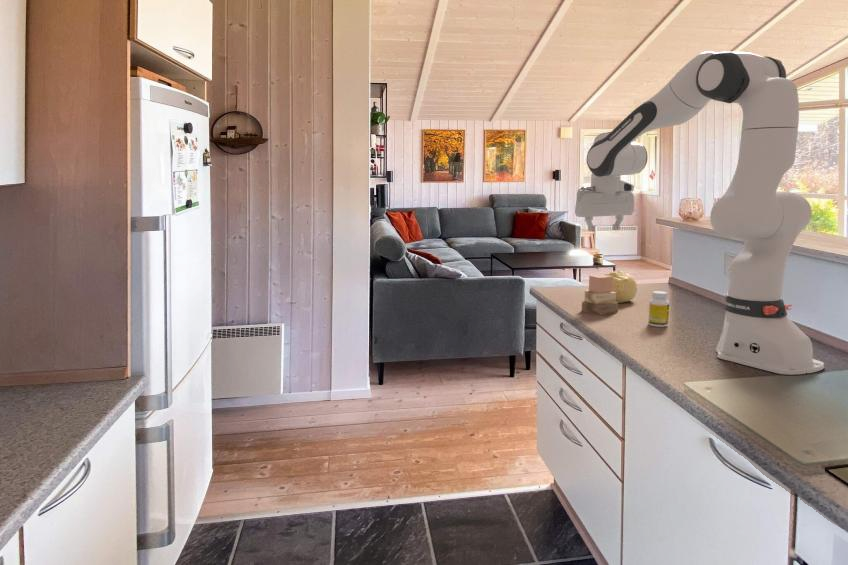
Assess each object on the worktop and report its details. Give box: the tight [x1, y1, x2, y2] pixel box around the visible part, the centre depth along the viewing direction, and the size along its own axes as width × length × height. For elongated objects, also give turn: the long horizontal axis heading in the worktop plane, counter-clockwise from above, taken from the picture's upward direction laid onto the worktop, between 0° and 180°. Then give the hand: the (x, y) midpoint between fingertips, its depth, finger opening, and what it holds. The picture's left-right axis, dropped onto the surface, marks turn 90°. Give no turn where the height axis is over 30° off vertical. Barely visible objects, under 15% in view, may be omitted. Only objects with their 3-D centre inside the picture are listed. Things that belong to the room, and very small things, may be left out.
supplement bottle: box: [647, 290, 670, 328], centre depth 166 cm, size 5×5×10 cm
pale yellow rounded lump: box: [603, 270, 638, 304], centre depth 200 cm, size 12×12×11 cm
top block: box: [583, 289, 616, 305], centre depth 185 cm, size 7×7×4 cm
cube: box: [588, 274, 612, 293], centre depth 184 cm, size 5×5×5 cm
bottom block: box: [581, 300, 619, 316], centre depth 185 cm, size 8×8×4 cm
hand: (603, 230), depth 181 cm, fingers open, 8 cm apart
